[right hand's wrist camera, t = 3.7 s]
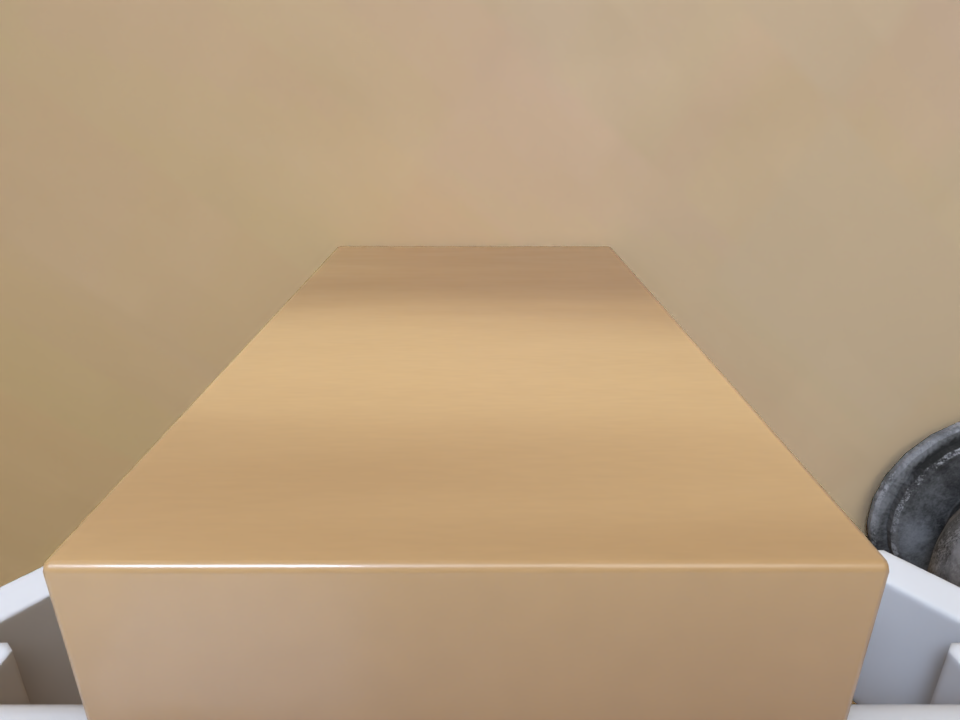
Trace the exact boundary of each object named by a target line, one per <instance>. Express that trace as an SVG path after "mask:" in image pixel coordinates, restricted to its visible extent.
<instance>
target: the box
mask: <svg viewBox="0 0 960 720" xmlns="http://www.w3.org/2000/svg"><path fill="white" fill-rule="evenodd" d="M43 575H44V578H45V581H46V585H47V588H48V591H49V595H50V598H51V601H52V605H53V608H54V611H55V614H56V618H57V621H58V624H59V628H60V631H61V634H62V638H63V641H64V644H65V647H66V651H67V654H68V657H69V661H70V664H71V667H72V671H73V674H74V677H75V680H76V684H77V687H78V690H79V694H80V697H81V700H82V704H83V707H84V710H85V713H86V717H87V720H847V718H848V714H849V711H850V707H851V704H852V700H853V697H854V693H855V690H856V686H857V683H858V679H859V676H860V672H861V669H862V665H863V662H864V658H865V655H866V651H867V648H868V644H869V641H870V637H871V634H872V631H873V627H874V624H875V620H876V617H877V613H878V610H879V606H880V603H881V599H882V596H883V592H884V589H885V585H886V582H887V578H888V575H889V565H888V563H887V560H886V559H885V558H884V557H883V556H882V554H881V553H880V552H879V551H878V550H877V549H876V548H875V547H874V545H873V544H872V543H871V542H870V541H869V540H868V539H867V537H866V536H865V535H864V534H863V533H862V532H861V531H860V530H859V528H858V527H857V526H856V525H855V524H854V523H853V522H852V520H851V519H850V518H849V517H848V516H847V515H846V514H845V513H844V511H843V510H842V509H841V508H840V507H839V506H838V505H837V503H836V502H835V501H834V500H833V499H832V498H831V497H830V496H829V494H828V493H827V492H826V491H825V490H824V489H823V488H822V486H821V485H820V484H819V483H818V482H817V481H816V480H815V479H814V477H813V476H812V475H811V474H810V473H809V472H808V471H807V469H806V468H805V467H804V466H803V465H802V464H801V463H800V461H799V460H798V459H797V458H796V457H795V456H794V455H793V454H792V452H791V451H790V450H789V449H788V448H787V447H786V446H785V444H784V443H783V442H782V441H781V440H780V439H779V438H778V437H777V435H776V434H775V433H774V432H773V431H772V430H771V429H770V427H769V426H768V425H767V424H766V423H765V422H764V421H763V420H762V418H761V417H760V416H759V415H758V414H757V413H756V412H755V410H754V409H753V408H752V407H751V406H750V405H749V404H748V403H747V401H746V400H745V399H744V398H743V397H742V396H741V395H740V393H739V392H738V391H737V390H736V389H735V388H734V387H733V386H732V384H731V383H730V382H729V381H728V380H727V379H726V378H725V376H724V375H723V374H722V373H721V372H720V371H719V370H718V368H717V367H716V366H715V365H714V364H713V363H712V362H711V361H710V359H709V358H708V357H707V356H706V355H705V354H704V353H703V351H702V350H701V349H700V348H699V347H698V346H697V345H696V344H695V342H694V341H693V340H692V339H691V338H690V337H689V336H688V334H687V333H686V332H685V331H684V330H683V329H682V328H681V327H680V325H679V324H678V323H677V322H676V321H675V320H674V319H673V317H672V316H671V315H670V314H669V313H668V312H667V311H666V310H665V308H664V307H663V306H662V305H661V304H660V303H659V302H658V300H657V299H656V298H655V297H654V296H653V295H652V294H651V293H650V291H649V290H648V289H647V288H646V287H645V286H644V285H643V283H642V282H641V281H640V280H639V279H638V278H637V277H636V275H635V274H634V273H633V272H632V271H631V270H630V269H629V268H628V266H627V265H626V264H625V263H624V262H623V261H622V260H621V258H620V257H619V256H618V255H617V254H616V253H615V252H614V251H613V249H612V248H610V247H338V248H337V249H336V250H335V251H334V252H333V253H332V254H331V255H330V256H329V257H328V259H327V260H326V261H325V262H324V263H323V264H322V265H321V266H320V267H319V268H318V269H317V270H316V271H315V272H314V274H313V275H312V276H311V277H310V278H309V279H308V280H307V281H306V282H305V283H304V284H303V285H302V286H301V288H300V289H299V290H298V291H297V292H296V293H295V294H294V295H293V296H292V297H291V298H290V299H289V300H288V301H287V303H286V304H285V305H284V306H283V307H282V308H281V309H280V310H279V311H278V312H277V313H276V314H275V315H274V316H273V318H272V319H271V320H270V321H269V322H268V323H267V324H266V325H265V326H264V327H263V328H262V329H261V330H260V331H259V333H258V334H257V335H256V336H255V337H254V338H253V339H252V340H251V341H250V342H249V343H248V344H247V345H246V347H245V348H244V349H243V350H242V351H241V352H240V353H239V354H238V355H237V356H236V357H235V358H234V359H233V360H232V362H231V363H230V364H229V365H228V366H227V367H226V368H225V369H224V370H223V371H222V372H221V373H220V374H219V375H218V377H217V378H216V379H215V380H214V381H213V382H212V383H211V384H210V385H209V386H208V387H207V388H206V389H205V390H204V392H203V393H202V394H201V395H200V396H199V397H198V398H197V399H196V400H195V401H194V402H193V403H192V404H191V406H190V407H189V408H188V409H187V410H186V411H185V412H184V413H183V414H182V415H181V416H180V417H179V418H178V419H177V421H176V422H175V423H174V424H173V425H172V426H171V427H170V428H169V429H168V430H167V431H166V432H165V433H164V434H163V436H162V437H161V438H160V439H159V440H158V441H157V442H156V443H155V444H154V445H153V446H152V447H151V448H150V450H149V451H148V452H147V453H146V454H145V455H144V456H143V457H142V458H141V459H140V460H139V461H138V462H137V463H136V465H135V466H134V467H133V468H132V469H131V470H130V471H129V472H128V473H127V474H126V475H125V476H124V477H123V478H122V480H121V481H120V482H119V483H118V484H117V485H116V486H115V487H114V488H113V489H112V490H111V491H110V492H109V493H108V495H107V496H106V497H105V498H104V499H103V500H102V501H101V502H100V503H99V504H98V505H97V506H96V507H95V509H94V510H93V511H92V512H91V513H90V514H89V515H88V516H87V517H86V518H85V519H84V520H83V521H82V522H81V524H80V525H79V526H78V527H77V528H76V529H75V530H74V531H73V532H72V533H71V534H70V535H69V536H68V537H67V539H66V540H65V541H64V542H63V543H62V544H61V545H60V546H59V547H58V548H57V549H56V550H55V551H54V553H53V554H52V555H51V556H50V557H49V558H48V559H47V560H46V561H45V564H44V566H43Z"/></svg>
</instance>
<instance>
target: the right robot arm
mask: <svg viewBox="0 0 960 720" xmlns="http://www.w3.org/2000/svg"><path fill="white" fill-rule="evenodd" d="M878 551H879V552H880V553H881V554H882V556H883V557H884V558H885V559H886V560H887V563H888V565H889V575H888V578H887V582H886V585H885V589H884V592H883V596H882V599H881V603H880V606H879V610H878V613H877V617H876V620H875V624H874V627H873V631H872V634H871V637H870V641H869V644H868V648H867V651H866V655H865V658H864V662H863V665H862V669H861V672H860V676H859V679H858V683H857V686H856V690H855V693H854V697H853V701H854V702H855V703H857V704H851V707H850V711H849V714H848V718H847V720H960V587H958V586H956V585H954V584H952V583H950V582H948V581H946V580H944V579H942V578H940V577H938V576H936V575H933V574H931V573H929V572H927V571H925V570H923V569H921V568H919V567H917V566H915V565H913V564H911V563H909V562H907V561H905V560H903V559H901V558H899V557H896V556H894V555H892V554H890V553H888V552H886V551H884V550H878ZM0 720H87V717H86V713H85V710H84V707H83V704H82V700H81V697H80V694H79V690H78V687H77V684H76V680H75V677H74V674H73V671H72V667H71V664H70V661H69V657H68V654H67V651H66V647H65V644H64V641H63V638H62V634H61V631H60V628H59V624H58V621H57V618H56V614H55V611H54V608H53V605H52V601H51V598H50V595H49V591H48V588H47V585H46V581H45V578H44V575H43V567H41V568H39V569H37V570H35V571H33V572H31V573H29V574H27V575H24V576H22V577H20V578H18V579H16V580H14V581H12V582H10V583H8V584H6V585H4V586H2V587H0Z"/></svg>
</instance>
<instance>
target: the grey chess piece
mask: <svg viewBox="0 0 960 720" xmlns="http://www.w3.org/2000/svg"><path fill="white" fill-rule="evenodd" d="M867 526H868V538H869V541H870V542H871V543H872V544H873V545H874V547H875V548H876V549H877V550H884V551H886V552H888V553H890V554H892V555H894V556H896V557H899V558H901V559H903V560H905V561H907V562H909V563H911V564H913V565H915V566H917V567H919V568H921V569H923V570H925V571H927V572H929V573H931V574H933V575H936V576H938V577H940V578H942V579H944V580H946V581H948V582H950V583H952V584H954V585H956V586H958V587H960V422H958V423H955V424H953V425H951V426H949V427H947V428H945V429H943V430H940V431H938V432H936V433H934V434H932V435H930V436H929V437H927V438H926V439H925V440H923V441H922V442H921V443H919V444H918V445H916V446H915V447H914V448H912V449H911V450H910V451H908V452H907V453H905V455H904V456H903V457H902V458H901V459H900V460H899V461H898V462H897V463H896V465H895V466H894V467H893V468H892V469H891V470H890V471H889V472H888V473H887V475H886V476H885V478H884V479H883V481H882V483H881V485H880V487H879V489H878V490H877V492H876V494H875V496H874V498H873V500H872V504H871V509H870V513H869V517H868V521H867Z"/></svg>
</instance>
